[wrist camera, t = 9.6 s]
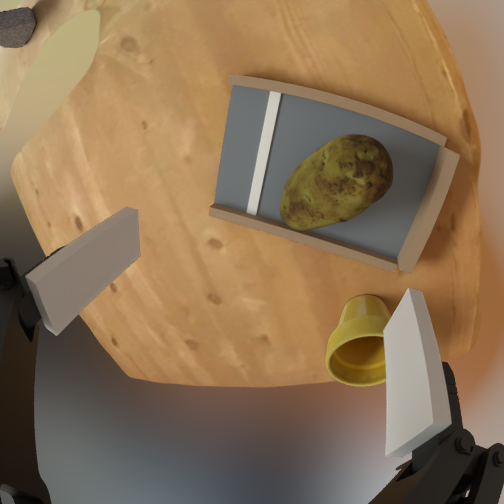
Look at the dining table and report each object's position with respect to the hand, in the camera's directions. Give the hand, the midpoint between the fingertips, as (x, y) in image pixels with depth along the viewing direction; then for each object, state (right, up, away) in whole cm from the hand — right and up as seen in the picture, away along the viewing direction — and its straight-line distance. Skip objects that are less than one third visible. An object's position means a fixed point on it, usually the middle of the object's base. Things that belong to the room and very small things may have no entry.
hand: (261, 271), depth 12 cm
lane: (+8, +10, +18) cm, 22 cm away
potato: (+8, +9, +17) cm, 21 cm away
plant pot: (+16, -8, +25) cm, 31 cm away
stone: (-48, +49, +16) cm, 70 cm away
